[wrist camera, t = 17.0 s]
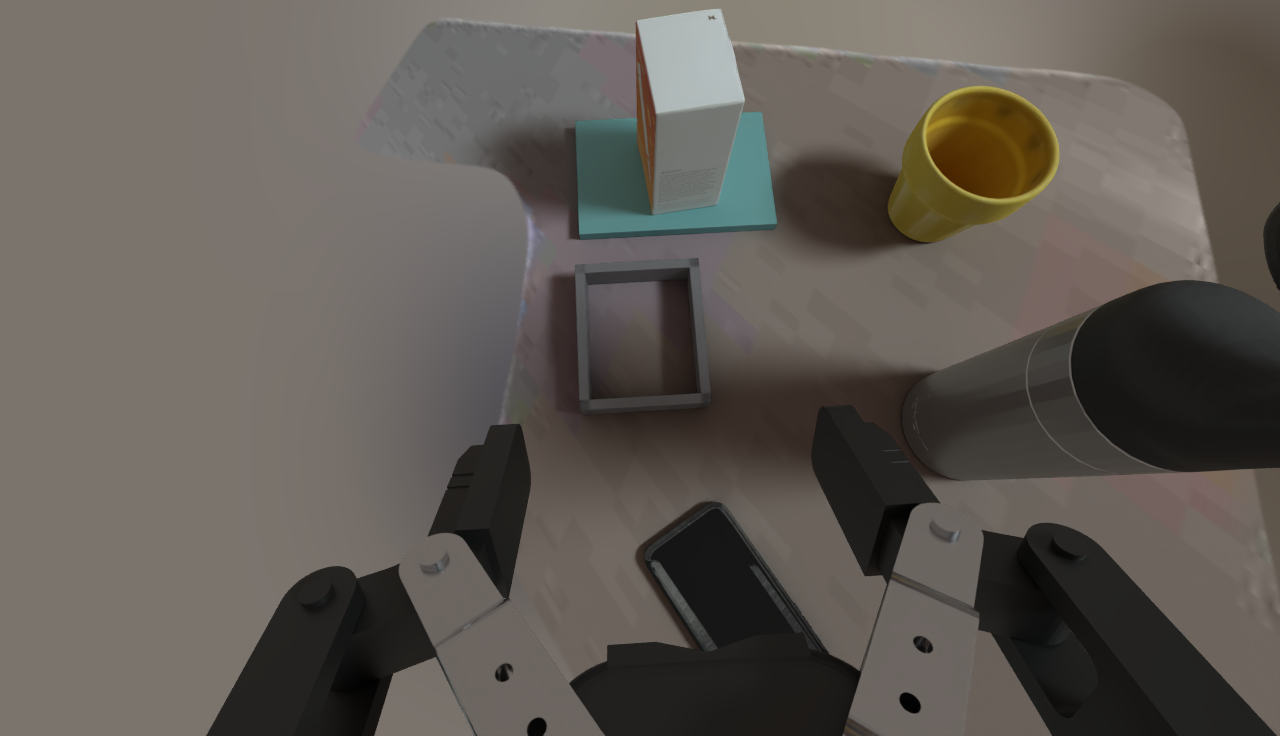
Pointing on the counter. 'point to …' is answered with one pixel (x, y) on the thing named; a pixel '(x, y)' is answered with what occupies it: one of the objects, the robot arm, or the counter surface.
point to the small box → (686, 108)
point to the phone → (722, 582)
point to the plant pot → (971, 163)
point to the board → (621, 197)
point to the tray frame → (690, 271)
